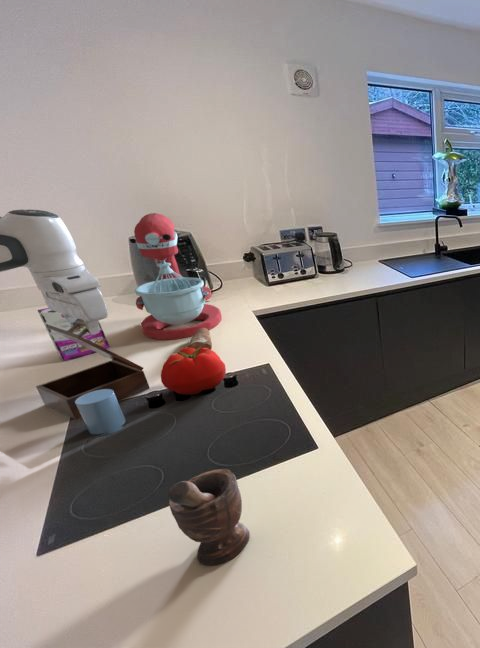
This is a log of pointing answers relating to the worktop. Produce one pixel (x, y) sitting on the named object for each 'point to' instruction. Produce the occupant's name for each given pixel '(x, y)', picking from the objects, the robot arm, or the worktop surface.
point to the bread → (201, 339)
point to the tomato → (192, 371)
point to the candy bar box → (64, 345)
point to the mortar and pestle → (210, 515)
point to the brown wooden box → (92, 385)
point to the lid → (91, 343)
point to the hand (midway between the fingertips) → (86, 330)
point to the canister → (101, 412)
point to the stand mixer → (170, 285)
